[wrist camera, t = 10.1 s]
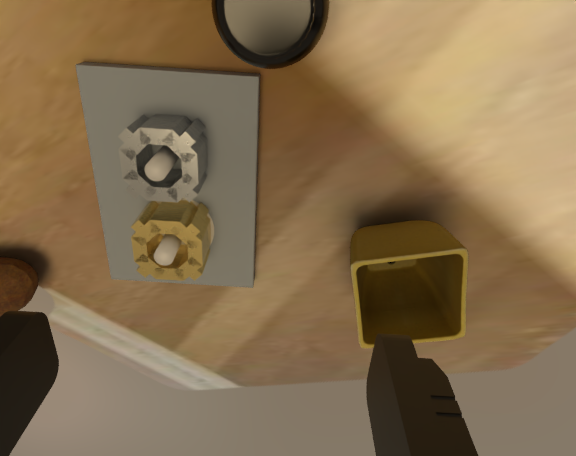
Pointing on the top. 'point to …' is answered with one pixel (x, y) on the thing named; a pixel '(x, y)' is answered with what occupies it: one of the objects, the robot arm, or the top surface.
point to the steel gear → (180, 139)
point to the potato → (16, 284)
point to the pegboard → (177, 160)
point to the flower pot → (408, 282)
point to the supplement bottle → (270, 29)
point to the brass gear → (185, 225)
